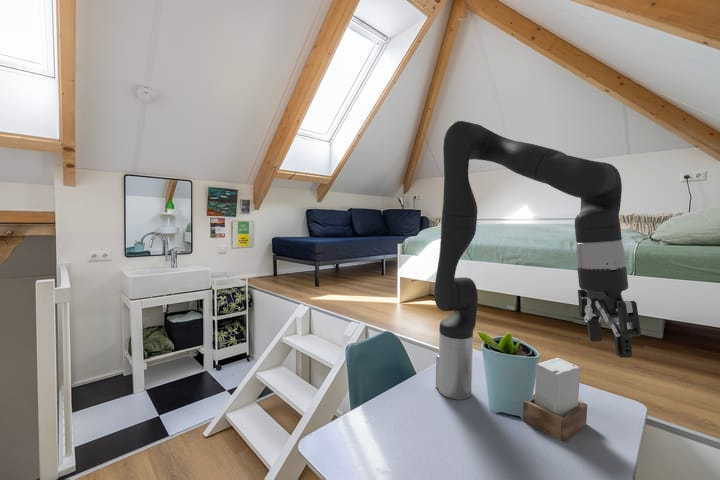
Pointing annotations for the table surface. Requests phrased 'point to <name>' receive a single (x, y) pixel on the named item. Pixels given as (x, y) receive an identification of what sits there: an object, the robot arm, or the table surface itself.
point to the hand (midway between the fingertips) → (609, 348)
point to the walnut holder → (555, 419)
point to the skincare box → (557, 386)
